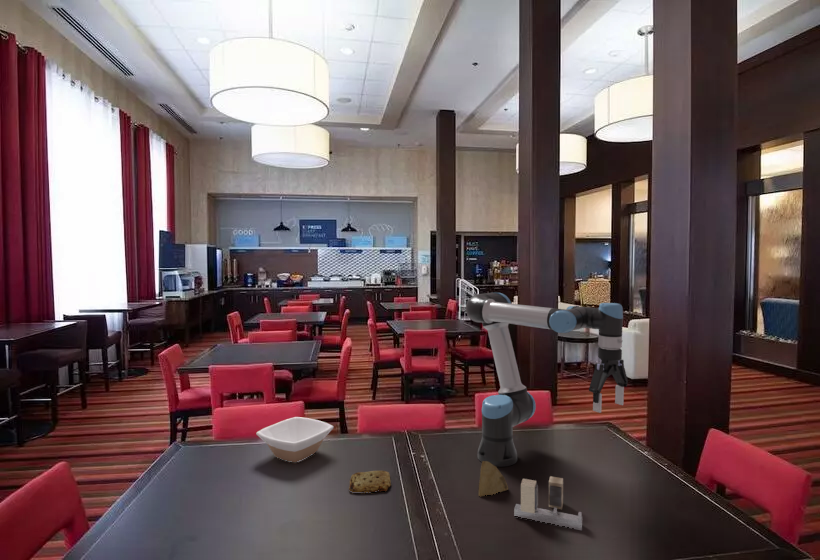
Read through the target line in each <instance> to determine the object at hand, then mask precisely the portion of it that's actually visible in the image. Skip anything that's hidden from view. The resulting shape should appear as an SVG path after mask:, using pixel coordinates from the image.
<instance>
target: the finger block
mask: <svg viewBox="0 0 820 560" xmlns="http://www.w3.org/2000/svg"><path fill="white" fill-rule="evenodd" d="M563 506H564V478H563V477H558V476H557V477H556V476H552V475H550V476H549V480H548V508H550V509H551V508H552V509H554V507H556V508H557V510H563Z"/></svg>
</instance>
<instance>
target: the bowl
mask: <svg viewBox="0 0 820 560" xmlns="http://www.w3.org/2000/svg"><path fill="white" fill-rule="evenodd" d="M332 430H334V425H332V424H330V423H328V422H326V421H321V420H318V419H314V418H308V417H300V416H294V417H290V418H287V419H284V420H281V421H279V422H276V423H274V424H271V425H269V426H266V427H263V428H262V429H260V430H258V431H257V432H256V436H258V437H259V438H260V440H262V441H263V442H264V443H265V444H266V445H267V446H268V448H269V449H270V451H271V453H272V454H273V455H274V457H275V456H276V457H278V458H281V459H283V460H287V461H292V462H297V461H299V460H302V459H304V458H306V457H308V456H310V455H311V454H314V453H315V452H316V451H317V452H318V450H319V448H320V447H321V445H322V443H323V441H324V439H325V438H326V436H328V435H329V433H331V431H332ZM317 452H316V453H317ZM314 455H315V454H314ZM276 457H275V458H276ZM278 458H277V459H278Z"/></svg>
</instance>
